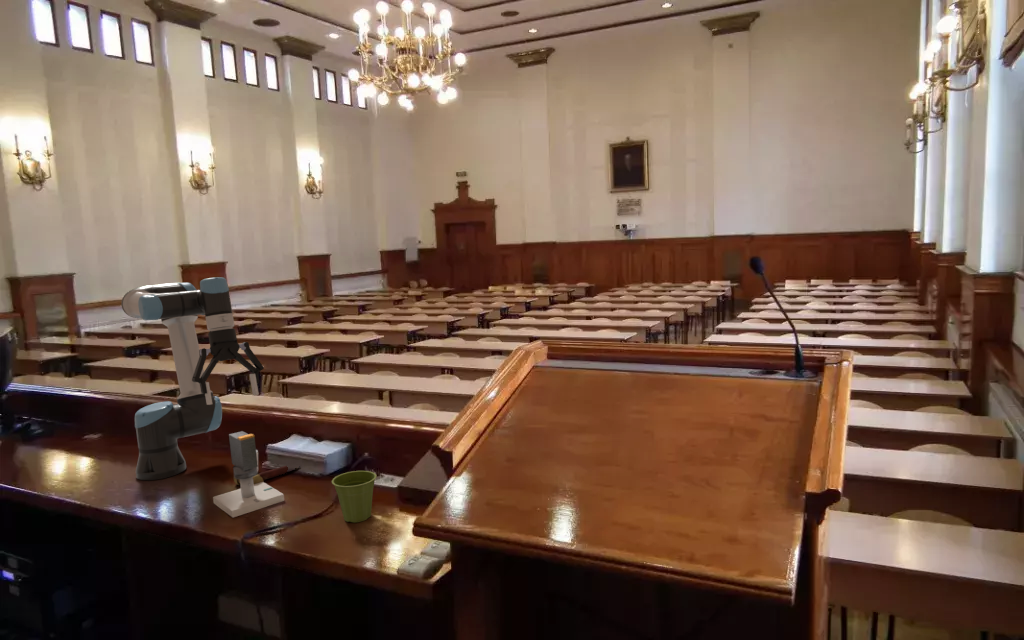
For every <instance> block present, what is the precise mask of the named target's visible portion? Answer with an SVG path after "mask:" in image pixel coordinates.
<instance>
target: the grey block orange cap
mask: <svg viewBox="0 0 1024 640" xmlns="http://www.w3.org/2000/svg"><path fill="white" fill-rule="evenodd" d="M228 440H229V446H230V458H231V464H232V465H233V466H232V468H233V479H234V478H235V479H247V478H251V477H254V476H256V475H257V474H258V472H257V467H258V468H259V463H258V464H257V455H256V450H257V448H256V438H255V434H254V433H247V432H245V431H243V430H241V431H238V432H234V433H233V432H232V433H229V434H228Z"/></svg>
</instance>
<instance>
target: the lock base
mask: <svg viewBox="0 0 1024 640" xmlns="http://www.w3.org/2000/svg"><path fill="white" fill-rule="evenodd" d="M239 486H240V488H238V489H235V490H232V491H227V492H225V493H221V494H218V495H215V496H213V497H212V500H213V504H214V505H215V506H217V508H219V509H220V510H222V511H224V513H226V514H227V515H229V516H230V517H231V518H236V517H238V516H242V515H245V514H247V513H248V514H249V513H251V512H254V511H257V510H260V509H263V508H266V507H269V506H272V505H275V504H278V503H281V502H284V501H285V495H284V493H282V491H281V492H280V491H279V490H278V489H276V488H274V487H272V486H271V485H269V484H268V483H266V482H260V483H257V484H254V483H253V477H251V478H247V479H240V485H239Z"/></svg>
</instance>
